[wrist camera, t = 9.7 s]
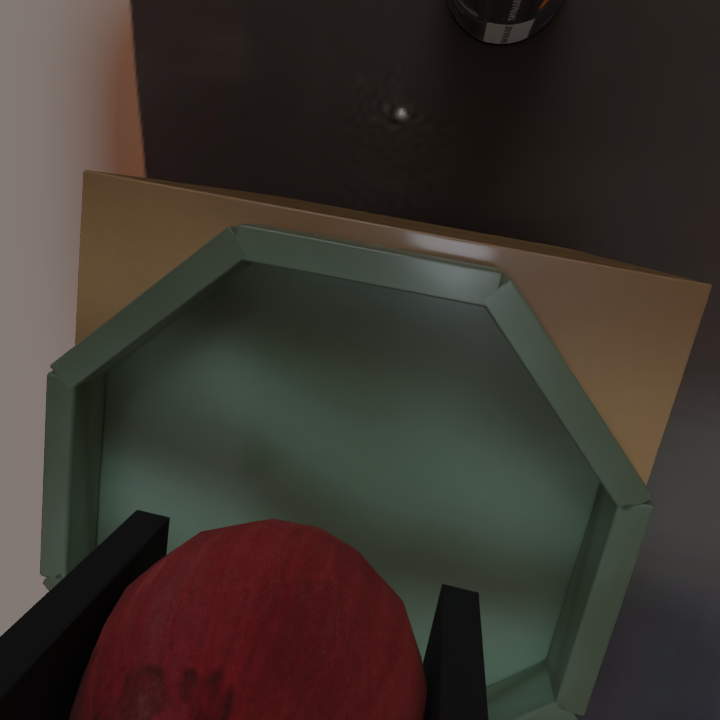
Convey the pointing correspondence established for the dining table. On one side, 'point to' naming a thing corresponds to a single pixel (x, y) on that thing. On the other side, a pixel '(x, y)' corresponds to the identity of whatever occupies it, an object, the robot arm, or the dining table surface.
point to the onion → (256, 635)
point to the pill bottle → (503, 18)
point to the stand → (373, 407)
